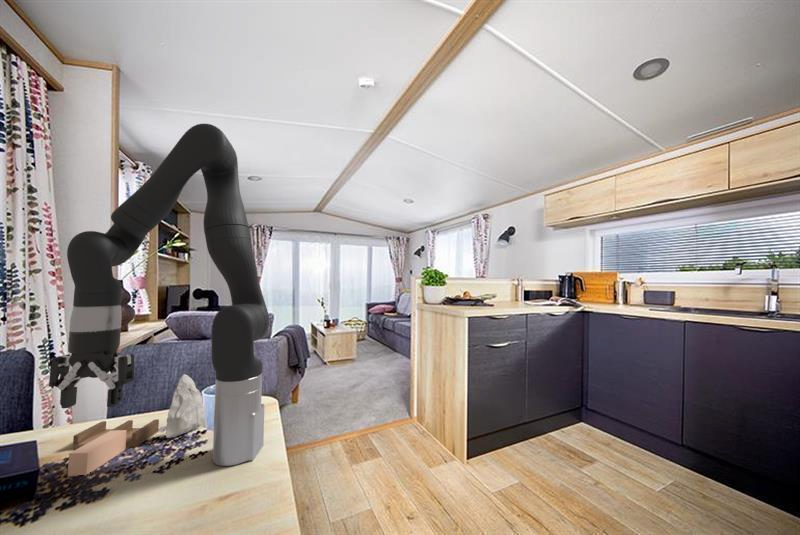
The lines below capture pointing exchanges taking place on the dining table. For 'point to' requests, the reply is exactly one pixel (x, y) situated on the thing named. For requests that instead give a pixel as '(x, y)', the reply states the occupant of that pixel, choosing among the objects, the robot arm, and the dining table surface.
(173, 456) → the dining table surface
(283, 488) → the dining table surface
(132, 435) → the rack
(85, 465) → the pink rectangular block
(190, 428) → the stone tool
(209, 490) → the dining table surface
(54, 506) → the dining table surface
